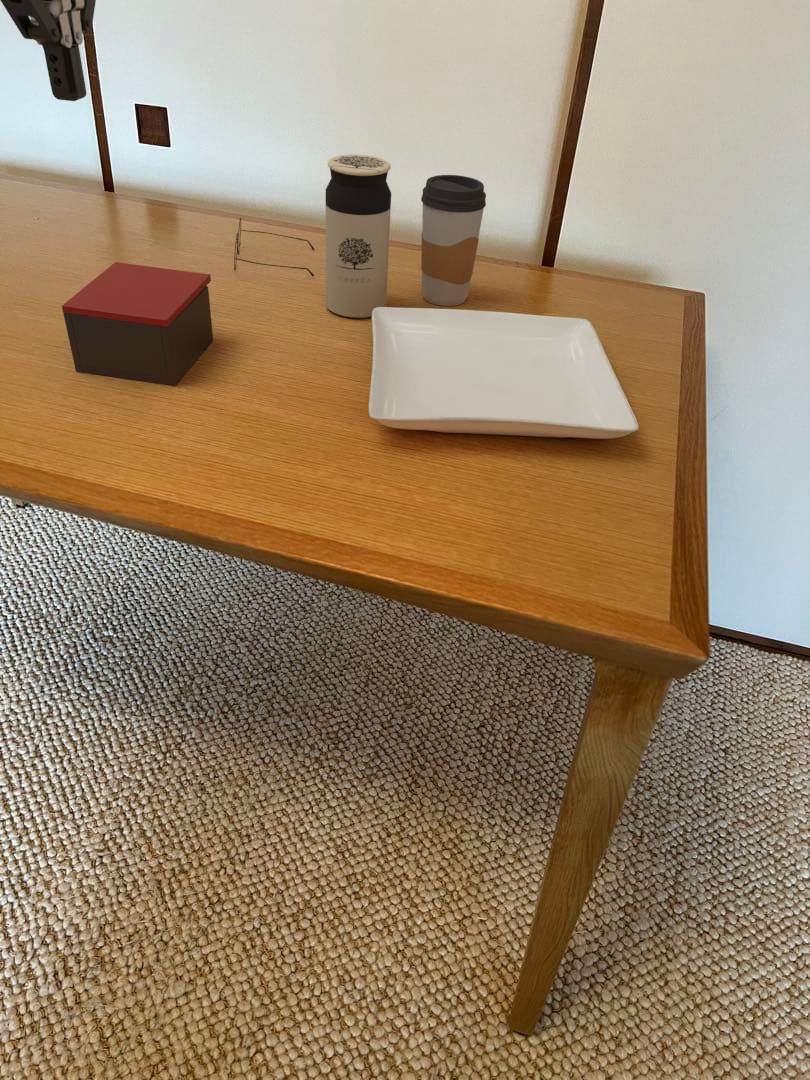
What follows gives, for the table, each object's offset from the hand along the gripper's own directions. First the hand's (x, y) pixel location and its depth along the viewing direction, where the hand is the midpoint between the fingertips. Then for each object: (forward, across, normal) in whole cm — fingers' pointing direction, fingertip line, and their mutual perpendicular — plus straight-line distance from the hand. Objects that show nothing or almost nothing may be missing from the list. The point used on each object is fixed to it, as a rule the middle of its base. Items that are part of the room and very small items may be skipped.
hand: (70, 98), depth 66 cm
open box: (+29, -12, -3) cm, 31 cm away
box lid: (+22, -12, -3) cm, 25 cm away
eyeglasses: (+29, -44, +2) cm, 53 cm away
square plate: (+29, -15, +36) cm, 49 cm away
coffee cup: (+29, -40, +28) cm, 57 cm away
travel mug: (+29, -32, +17) cm, 47 cm away
